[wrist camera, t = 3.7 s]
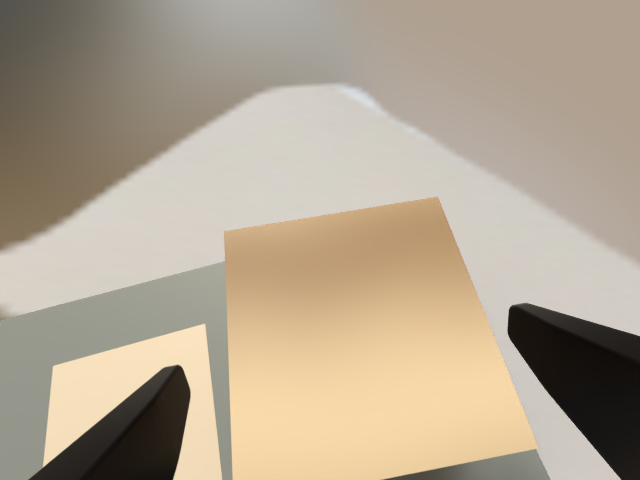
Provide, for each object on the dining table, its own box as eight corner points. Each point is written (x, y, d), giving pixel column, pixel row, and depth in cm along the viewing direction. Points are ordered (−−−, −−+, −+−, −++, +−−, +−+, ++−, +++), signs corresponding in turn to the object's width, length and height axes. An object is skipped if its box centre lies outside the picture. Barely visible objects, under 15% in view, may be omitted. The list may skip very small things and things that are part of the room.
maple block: (407, 413, 14) (538, 448, 5) (297, 434, 14) (233, 508, 5) (379, 305, 16) (438, 196, 7) (284, 321, 16) (224, 231, 7)
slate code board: (415, 215, 19) (418, 210, 19) (547, 488, 13) (558, 493, 13) (7, 323, 17) (-4, 321, 17) (-58, 706, 11) (-80, 724, 11)
